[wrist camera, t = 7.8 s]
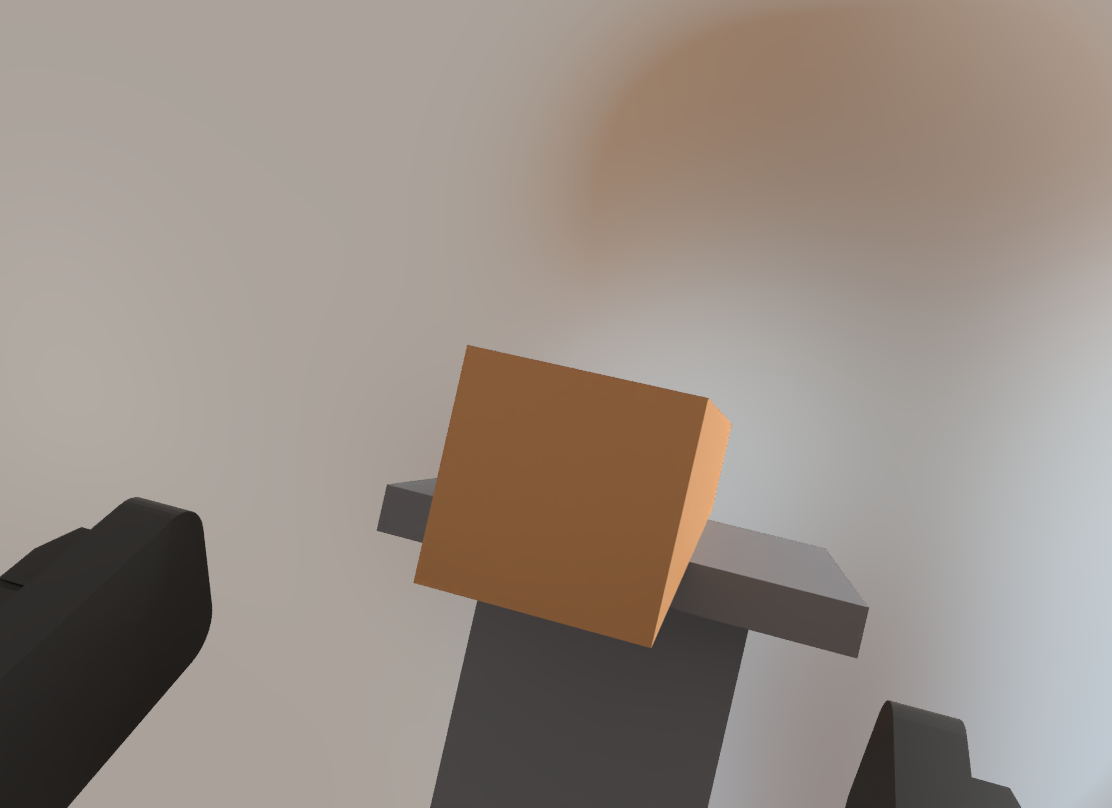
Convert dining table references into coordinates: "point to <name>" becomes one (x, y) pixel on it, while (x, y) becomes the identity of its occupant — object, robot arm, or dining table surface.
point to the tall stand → (624, 677)
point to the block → (571, 494)
